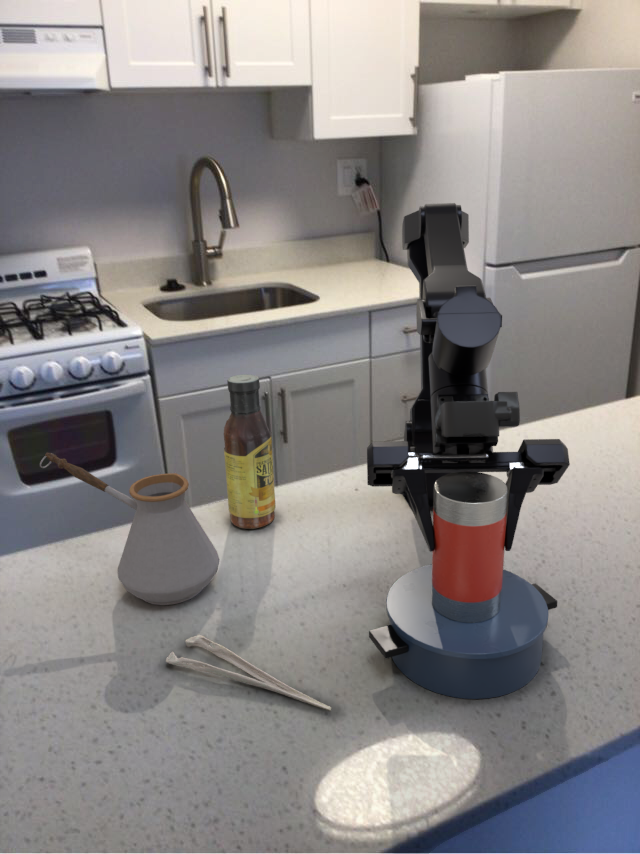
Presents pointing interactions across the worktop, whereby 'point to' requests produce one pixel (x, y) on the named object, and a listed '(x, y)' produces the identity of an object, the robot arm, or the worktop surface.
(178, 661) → the tweezers
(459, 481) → the tin can
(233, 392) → the sauce bottle
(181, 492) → the coffee pot
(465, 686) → the enamel pot
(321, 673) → the worktop surface
